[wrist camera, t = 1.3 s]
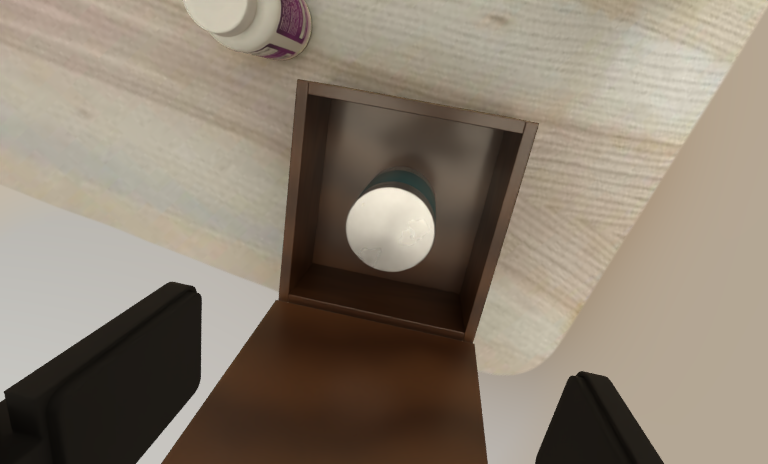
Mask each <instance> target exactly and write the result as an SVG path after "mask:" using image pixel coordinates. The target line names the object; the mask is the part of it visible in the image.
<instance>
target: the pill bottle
mask: <svg viewBox="0 0 768 464" xmlns="http://www.w3.org/2000/svg"><path fill="white" fill-rule="evenodd" d="M183 3H184V6H185V8H186V10H187V12H188V14H189V15H190V17H191V18H192V19H193V21H194V22H195V23H196V24H197V25H199V26H200V27H201V28H203V29H204V30H206V31H208V32H209V33H210V34H211V35H212V37H213V38H214V39H215V40H217V41H218V42H219V43H220V44H222V45H223V46H225V47H227V48H229V49H232V50H234V51H237V52H243V53H247V54H251V55H256V56H260V57H265V58H269V59H273V60H287V59H291V58H293V57H295V56H297V55H298V54H300V53H301V52H302V50H303V49H304V48H305V47H306V45H307V43H308V41H309V38H310V34H311V28H312V24H311V16H310V12H309V9H308V6H307V4H306V3H305V1H304V0H183Z"/></svg>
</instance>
